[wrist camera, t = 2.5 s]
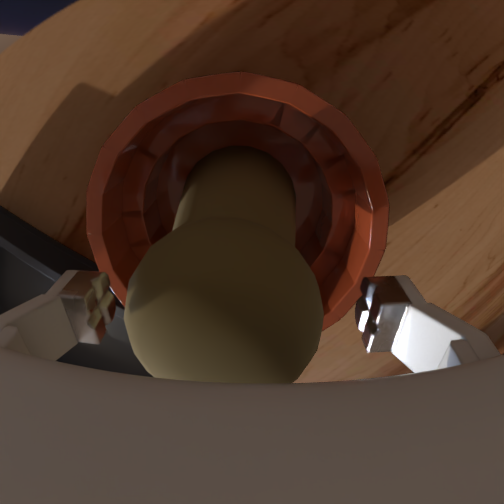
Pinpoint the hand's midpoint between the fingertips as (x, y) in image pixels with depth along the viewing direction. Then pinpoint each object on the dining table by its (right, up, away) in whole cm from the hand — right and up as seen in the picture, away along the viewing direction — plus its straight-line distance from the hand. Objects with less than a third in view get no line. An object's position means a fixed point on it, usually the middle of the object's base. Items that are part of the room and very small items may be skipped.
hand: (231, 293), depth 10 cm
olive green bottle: (0, +4, +7) cm, 8 cm away
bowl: (0, +4, +7) cm, 8 cm away
